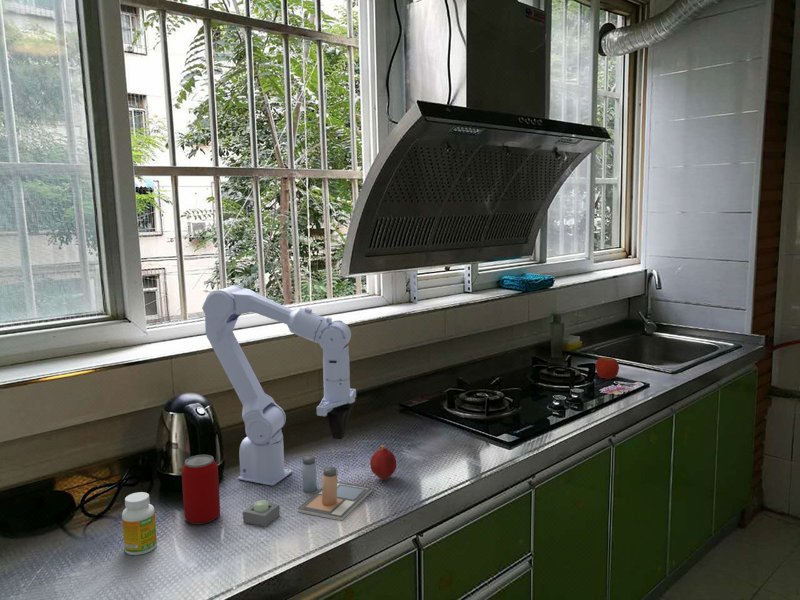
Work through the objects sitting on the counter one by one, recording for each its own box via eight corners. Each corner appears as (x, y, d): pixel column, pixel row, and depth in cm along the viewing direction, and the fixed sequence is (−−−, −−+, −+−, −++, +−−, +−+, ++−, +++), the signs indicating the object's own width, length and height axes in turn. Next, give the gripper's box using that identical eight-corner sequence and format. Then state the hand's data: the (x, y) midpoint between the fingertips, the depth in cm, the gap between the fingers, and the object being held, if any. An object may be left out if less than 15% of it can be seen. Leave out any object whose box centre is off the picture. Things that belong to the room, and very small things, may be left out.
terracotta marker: (318, 503, 128) (319, 470, 127) (327, 497, 130) (327, 465, 129) (331, 506, 126) (332, 473, 125) (339, 501, 129) (340, 468, 128)
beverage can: (224, 509, 127) (221, 452, 126) (215, 526, 121) (212, 466, 119) (190, 510, 127) (186, 453, 125) (180, 527, 120) (176, 467, 119)
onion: (382, 472, 145) (381, 438, 143) (402, 478, 141) (401, 444, 140) (365, 480, 140) (364, 446, 139) (385, 487, 136) (384, 452, 135)
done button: (251, 520, 123) (250, 505, 122) (259, 514, 125) (259, 499, 125) (263, 523, 122) (262, 507, 121) (271, 516, 124) (271, 501, 124)
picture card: (297, 511, 126) (297, 508, 126) (331, 483, 139) (331, 480, 139) (341, 520, 122) (341, 517, 122) (372, 490, 135) (372, 487, 135)
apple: (607, 382, 215) (608, 360, 214) (590, 377, 222) (590, 355, 221) (623, 379, 219) (624, 357, 218) (605, 374, 226) (606, 353, 225)
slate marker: (300, 490, 136) (299, 459, 135) (307, 484, 138) (306, 454, 137) (312, 492, 134) (311, 461, 133) (319, 487, 137) (318, 456, 136)
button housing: (243, 522, 122) (242, 511, 122) (258, 510, 127) (258, 500, 126) (265, 526, 120) (264, 516, 120) (279, 515, 125) (279, 504, 124)
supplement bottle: (143, 558, 110) (139, 505, 109) (117, 553, 111) (113, 501, 110) (163, 542, 115) (159, 491, 114) (138, 538, 116) (134, 488, 115)
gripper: (337, 388, 129) (338, 452, 131) (367, 371, 142) (368, 429, 144) (307, 385, 131) (309, 447, 133) (339, 368, 145) (341, 425, 147)
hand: (338, 437), depth 139 cm, fingers closed
